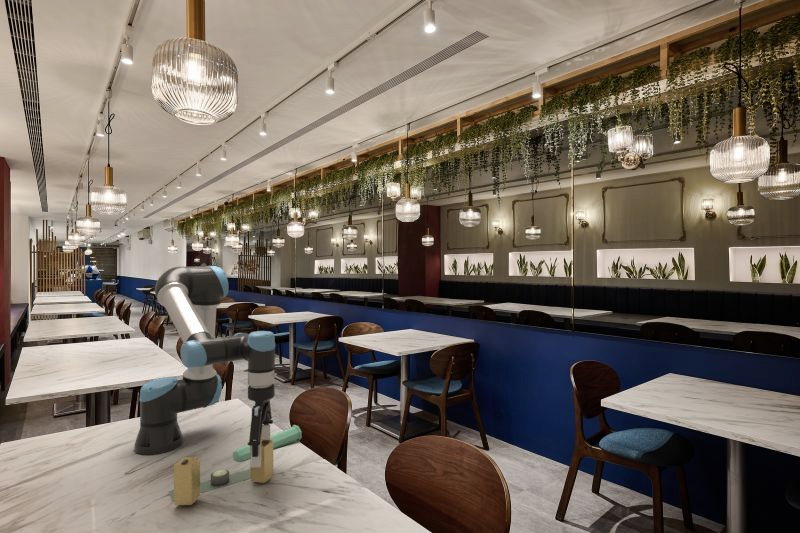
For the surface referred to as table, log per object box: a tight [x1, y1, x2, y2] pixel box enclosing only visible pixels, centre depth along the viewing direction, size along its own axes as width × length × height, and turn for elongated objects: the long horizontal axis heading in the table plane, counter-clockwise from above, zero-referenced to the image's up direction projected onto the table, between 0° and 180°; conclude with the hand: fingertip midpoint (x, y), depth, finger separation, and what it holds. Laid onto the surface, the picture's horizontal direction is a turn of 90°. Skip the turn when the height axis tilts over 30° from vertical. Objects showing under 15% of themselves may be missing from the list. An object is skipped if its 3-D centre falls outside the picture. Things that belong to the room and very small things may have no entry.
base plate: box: [168, 468, 251, 502], centre depth 126 cm, size 12×26×4 cm, turn 126°
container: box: [232, 424, 303, 462], centre depth 153 cm, size 6×6×25 cm
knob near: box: [173, 456, 201, 507], centre depth 117 cm, size 5×5×12 cm
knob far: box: [249, 439, 274, 484], centre depth 129 cm, size 5×5×12 cm
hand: (260, 455), depth 130 cm, fingers open, 13 cm apart
